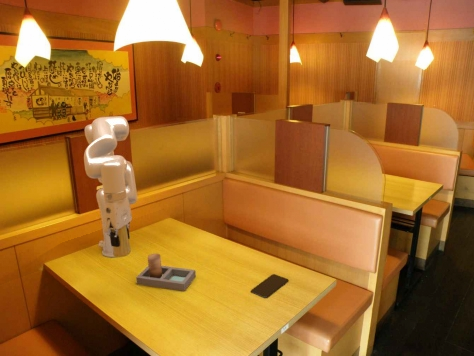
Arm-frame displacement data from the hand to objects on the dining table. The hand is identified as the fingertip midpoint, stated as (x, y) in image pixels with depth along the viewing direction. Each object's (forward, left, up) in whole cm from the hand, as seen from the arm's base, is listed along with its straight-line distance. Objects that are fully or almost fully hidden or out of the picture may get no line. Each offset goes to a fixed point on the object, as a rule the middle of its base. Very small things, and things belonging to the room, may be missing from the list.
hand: (120, 242), depth 139 cm
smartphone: (+51, +18, -22) cm, 59 cm away
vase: (0, 0, -5) cm, 5 cm away
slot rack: (+11, +12, -21) cm, 27 cm away
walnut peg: (+6, +12, -21) cm, 25 cm away
